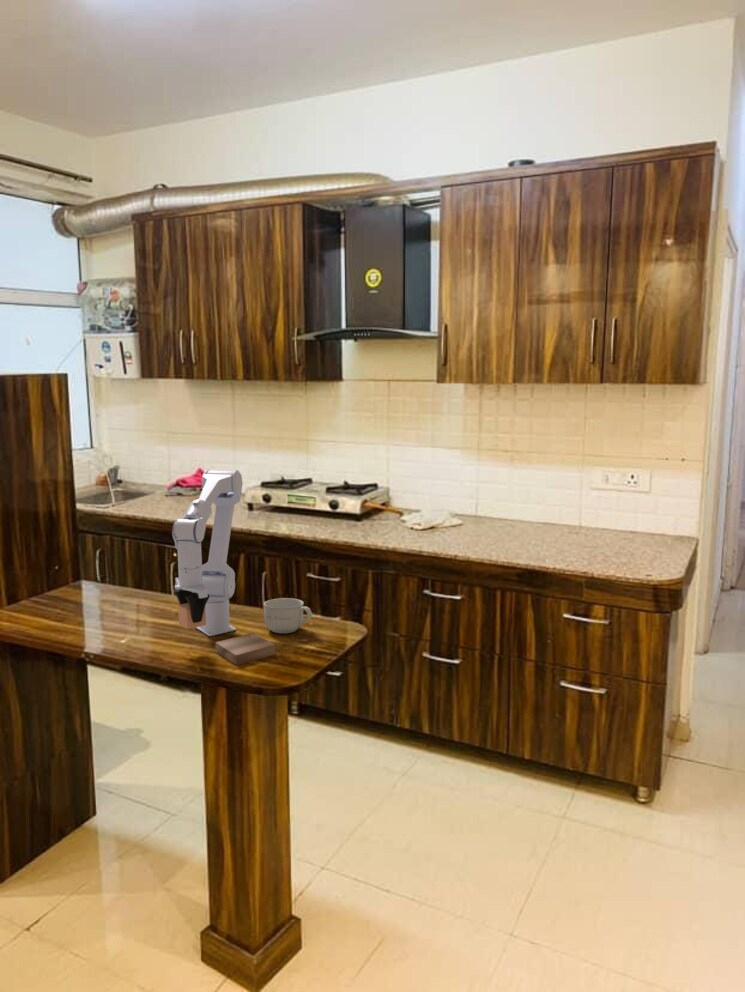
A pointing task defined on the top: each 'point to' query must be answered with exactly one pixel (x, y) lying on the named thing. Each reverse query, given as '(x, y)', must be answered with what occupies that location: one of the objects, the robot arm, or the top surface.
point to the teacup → (285, 614)
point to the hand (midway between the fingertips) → (192, 618)
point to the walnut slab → (245, 648)
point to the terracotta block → (189, 617)
